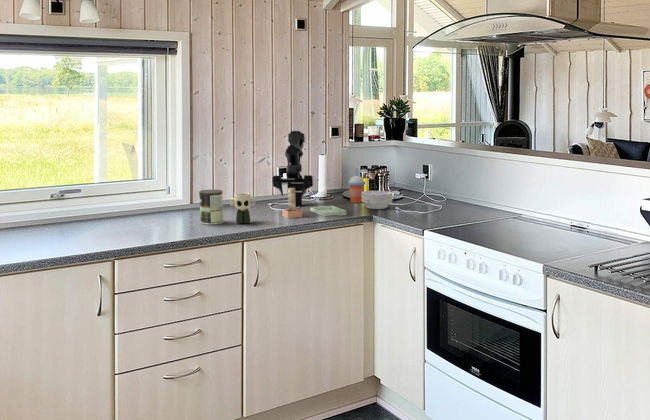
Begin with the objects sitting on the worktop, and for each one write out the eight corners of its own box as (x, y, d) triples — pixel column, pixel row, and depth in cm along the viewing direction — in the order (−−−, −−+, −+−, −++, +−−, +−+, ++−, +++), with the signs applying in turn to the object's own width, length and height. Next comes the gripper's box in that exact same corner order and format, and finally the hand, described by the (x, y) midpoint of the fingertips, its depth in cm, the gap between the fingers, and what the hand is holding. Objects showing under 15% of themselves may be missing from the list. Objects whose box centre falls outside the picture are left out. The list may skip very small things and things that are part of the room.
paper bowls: (392, 205, 321) (392, 189, 319) (392, 210, 306) (392, 194, 304) (361, 205, 322) (361, 189, 320) (361, 210, 307) (361, 194, 306)
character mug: (230, 225, 275) (229, 195, 272) (230, 222, 282) (229, 193, 279) (256, 224, 276) (255, 194, 274) (255, 221, 283) (254, 192, 281)
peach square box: (282, 217, 292) (282, 209, 291) (296, 215, 295) (296, 208, 294) (287, 219, 286) (287, 212, 285) (302, 218, 289) (302, 210, 288)
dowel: (287, 216, 291) (287, 188, 289) (294, 215, 292) (293, 187, 290) (290, 217, 288) (289, 189, 286) (296, 216, 289) (296, 188, 287)
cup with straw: (365, 200, 335) (365, 166, 332) (365, 203, 326) (365, 168, 323) (348, 200, 336) (348, 166, 333) (347, 203, 327) (347, 168, 324)
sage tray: (310, 211, 304) (310, 207, 304) (332, 209, 309) (332, 205, 309) (323, 217, 290) (323, 212, 290) (346, 215, 295) (346, 210, 295)
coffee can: (199, 225, 276) (197, 193, 273) (201, 220, 286) (200, 189, 283) (222, 224, 277) (221, 192, 274) (224, 219, 287) (223, 189, 284)
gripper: (272, 158, 294) (270, 185, 284) (312, 158, 293) (311, 184, 284) (274, 173, 303) (272, 199, 294) (313, 173, 302) (312, 199, 293)
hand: (292, 195), depth 291 cm, fingers open, 9 cm apart
